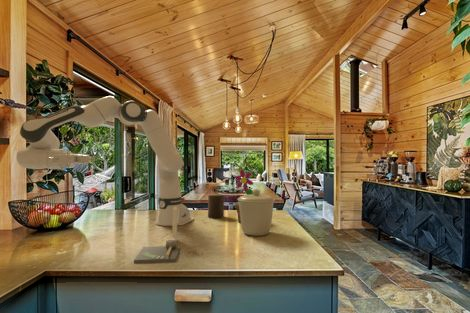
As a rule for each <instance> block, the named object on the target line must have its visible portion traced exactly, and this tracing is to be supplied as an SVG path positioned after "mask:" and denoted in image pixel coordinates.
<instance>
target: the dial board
mask: <svg viewBox="0 0 470 313" xmlns="http://www.w3.org/2000/svg"><path fill="white" fill-rule="evenodd" d="M180 247H181V246H180V245H177V247H176V248H172V249H171V252H170V254H169V256H167V257H166V254H167V252H168V249H169V248H166V245H165V246H163V245H162V246H143V247H142V248H141V249H140V251H139V252H138V254H137V255H136V256H135V257H134V259H133V263H134V264H142V263H143V264H146V263H147V262H149V263H169V262H170V263H174V262H175V263H176V262H177V260H178V256H179V251H180V249H181V248H180Z"/></svg>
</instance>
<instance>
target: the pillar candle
mask: <svg viewBox="0 0 470 313" xmlns="http://www.w3.org/2000/svg"><path fill="white" fill-rule="evenodd" d="M207 196H208V202H207V203H208V204H207V217H208V218H209V219H222V217H223V218H224V216H225V215H224V213H225V212H224V211H225V210H224V209H225V207H224V206H225V202H224V201H225V194H223V193H209V194H208V195H207Z"/></svg>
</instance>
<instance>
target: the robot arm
mask: <svg viewBox="0 0 470 313" xmlns="http://www.w3.org/2000/svg"><path fill="white" fill-rule="evenodd" d="M112 119H114V120H116V121H117V122H118V123H119V124H121V125H123V126H126V127H132V126H134V125H136V124H138V125H139V126H140V127H141V129H143V132H144V135H145V137H146V139H147V141H148V144H149V145H150V147H151V149H152V150H153V152H154V153H155V155H156V158H157V159H158V160H157V171H158V181H159V183H158V184H159V197H158V199H157V200H158V201H157V202H158V208H157V217H156V220H155V224H156V225H158V226H163V227H164V226H165V227H168V226H171V227H172V224H173V208H174V207H175V206H177V226H183V225H186V224H188V223H190V222H192V221H194V220H195V217H193V216H191V211H190V209H189V208H188V207H187V206H186V205H185V204H183V202H184V201H186V197H185V196H184V197H183V196H181V182H180V177H179V171H180V170H181V169H182V167H183V166H184V159H183V157H182V156H181V154H180V152H179V151H178V149H177V147H176V146H175V144H174V143H173V141H172V139H171V137H170V135H169V133H168V130H167V128H166V126H165V124H164V122H163V121H162V119H161V117H160V115H159V114H158V112H157V111H155V110H154V109H146V108H145V107H144V106H142V104H140V103H139V102H138V101H135V100H128V101H125V102H123V103H120V102H119V100H118V99H117V98H115V97H114V96H112V95H108V96H103V97H101V98H98V99H96V100H94V101H92V102H90V103H88V104H85V105H77V104H76V105H71V106H68V107H66V108H62V109H60V110H56V111H55V112H51V113H48V114H45V115H43V116H39V117H36V118H31V119H28V120H26V121H25V122H23V124H21V127H20V130H19V135H20V136H21V137H22V138H23V139H24V140H25V141H26V142H28V143H29V145H28V146H27V147H25V148H24V149H21V150H17V152H16V161H17V163H18V165H19V166H21V167H22V168H24V169H28V170H29V169H32V170H44V169H49V170H65V169H67V168H68V167H72V166H76V165H84V164H90V163H91V162H95V161H96V157H93V156H92V157H91V156H90V155H89V154H88V155H87V154H79V153H74V152H71V151H68V150H66V149H64V148H60V146H61V141H60V140H59V138H58V137H57V136H56V135H55V133H54V132H53V131H52V129H54V128H57V127H59V126H61V125H64V124H66V123H70V122H77V123H79V124H80V125H83V126H86V127H87V128H97V127H99V126H101V125H103V124H104V123H106V122H108V121H110V120H112Z"/></svg>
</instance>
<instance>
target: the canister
mask: <svg viewBox="0 0 470 313" xmlns="http://www.w3.org/2000/svg"><path fill="white" fill-rule="evenodd" d="M252 191H253V194H250V195H249V194H248V195H247V194H244V195H241V196H239V197H238V198H236V199H237V202H238V203H239V210H240V219H241V223H240V226H241V230H242V232H243V233H244V234H245V235H248V236H255V237H259V236H260V237H261V236H265V235H268V234H269V233H270V231H271V228H272V227H271V226H272V221H273V214H274V213H273V210H274V204H275V203H274V202H275V201H276V199H275V198H274V197H273V196H271V195H267V194H260V193H261V191H260V189H257V188H255V189H253V190H252Z"/></svg>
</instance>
